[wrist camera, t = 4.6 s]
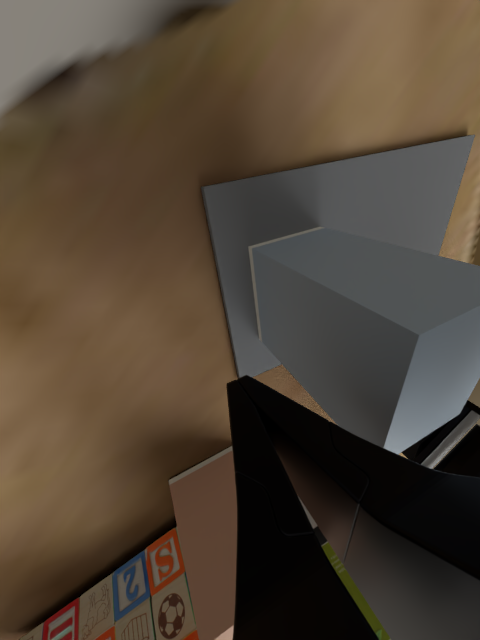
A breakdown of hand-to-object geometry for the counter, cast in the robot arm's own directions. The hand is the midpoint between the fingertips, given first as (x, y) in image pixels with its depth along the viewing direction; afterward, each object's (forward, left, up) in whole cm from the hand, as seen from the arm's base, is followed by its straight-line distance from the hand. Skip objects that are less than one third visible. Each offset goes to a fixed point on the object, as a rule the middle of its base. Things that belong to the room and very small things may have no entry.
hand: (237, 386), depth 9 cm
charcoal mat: (-11, 0, -6) cm, 12 cm away
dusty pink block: (+2, +15, -6) cm, 16 cm away
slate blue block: (-6, 0, -6) cm, 8 cm away
